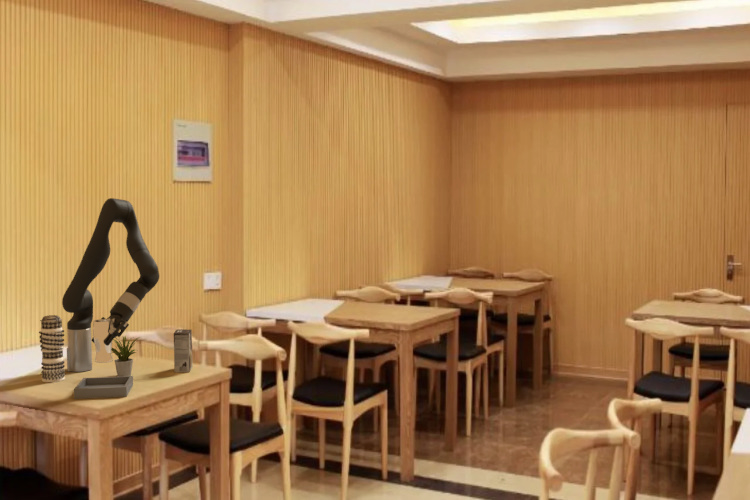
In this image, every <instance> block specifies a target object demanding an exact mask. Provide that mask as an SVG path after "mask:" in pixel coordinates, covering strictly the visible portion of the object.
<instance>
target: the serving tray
mask: <svg viewBox="0 0 750 500" xmlns="http://www.w3.org/2000/svg"><path fill="white" fill-rule="evenodd" d="M133 386H134V376H133V375H131V376H120V377H118V376H97V377H82V379H81V380H80V382H79V383H77V384H76V386H75V388H74V389H73V399H74V400H79V399H80V400H81V399H82V400H83V399H102V398H103V399H104V398H108V399H109V398H124V397H125V398H126V397H128V395H129V394H130V392H131V389H132V388H133Z"/></svg>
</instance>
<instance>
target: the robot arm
mask: <svg viewBox="0 0 750 500" xmlns="http://www.w3.org/2000/svg"><path fill="white" fill-rule="evenodd" d="M98 215H99V216H98V218H97V222H96V226H94V227H95V228H94V231H93V233H92V235H91V238H90V241H89V242H88V244H87V246H86V249H85V251H84V253H83V256H82V259H81V260H80V263H79V266H78V268H77V270H76V272H75V274H74V277H73V278H72V280H71V282H70V283H69V285H68V287H67V289H66V290H65V293H64V294H63V297H62V300H61V305H62V308H63V310H64V311H65V312H66V313H70V314H72V317H71V318H70V319H69V320H68V321H67V323H66V330H67V348H66V366H67V370H66V371H67V372H76V373H77V372H79V373H80V372H89V371H91V370H92V369H93V351H92V350H93V349H92V347H93V346H92V343H93V344H95V343H94V338H93V337H92V323H93V321H94V320H93V317H94V298H93V295H92V293H91V291H90V290H89V289H88V288H89V286H90V284H91V283H92V282H93V281H94V280H95V279H96V277H97V276H99V274H101V272H102V271H103V270H104V268H105V266H106V264H107V262H108V259H109V257H110V254H111V244H110V239H109V235H110V231H111V228H112V225H113V224H114V223H120V224H122V225H123V227H124V228H125V229H126V232H127V233H126V234H127V236H126V242H125V245H126V249H127V252H128V254H129V256H130V258H131V260H132V262H133V263H134V264H135V266H136V267H137V270H138V273H139V278H138V279H137V281H132V282H131V283H130V284H129V285H128V286H127V288H126V289H125V291H124V292H123V293H122V294H121V295H120V296H119V298H118V299H117V301H116V302H115V303H114V305H113V306H112V307H111V308H110V310H109V313H110V315H109V316H108V317H107V318H105V317H104V316H102V317H101V319H111V320H112V330H111V332H110V334H109V335H108V337H107V338H106V339H105V341H104V344H105V345H107V346H108V345H109V344H110V343H111V342H112V343H113V341H114V340H115V339H116V338H117V337H118V338H120V337H121V336H122V335H123V334H124V332H125V330H127V328H129V325H130V324H129V320H130V319H131V317H132V316H133V315H134V313H135V312H136V311H137V309H138V307H139V306H140V303H141V302H142V301H143V300H144V298H145V297H146V295H147V294H148V293H149V292H150V291H151V290H152V289H153V288H155V286H156V285H157V284H158V282H159V279H160V272H159V267H158V264H157V263H156V260H155V259H154V258H153V256H152V255H151V254H150V250H149V248H148V247H147V245H146V242H145V241H144V238H143V236H142V233H141V230H140V225H139V222H138V219H137V215H136V213H135V209H134V206H133V204H132V203H131V202H130V201H129V200H125V199H119V198H114V197H111V198H108V199H106V200H105V201H104V203H103V205H102V206H101V209H100V213H99V214H98Z"/></svg>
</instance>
